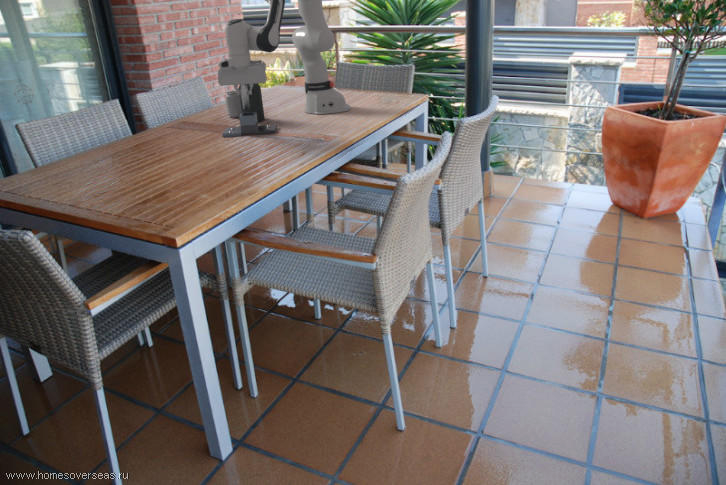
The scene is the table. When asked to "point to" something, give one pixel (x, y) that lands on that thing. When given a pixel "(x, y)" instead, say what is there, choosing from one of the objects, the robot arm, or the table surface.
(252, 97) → the bottle
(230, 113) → the can
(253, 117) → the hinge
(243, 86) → the pin
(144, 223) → the table surface
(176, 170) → the table surface
